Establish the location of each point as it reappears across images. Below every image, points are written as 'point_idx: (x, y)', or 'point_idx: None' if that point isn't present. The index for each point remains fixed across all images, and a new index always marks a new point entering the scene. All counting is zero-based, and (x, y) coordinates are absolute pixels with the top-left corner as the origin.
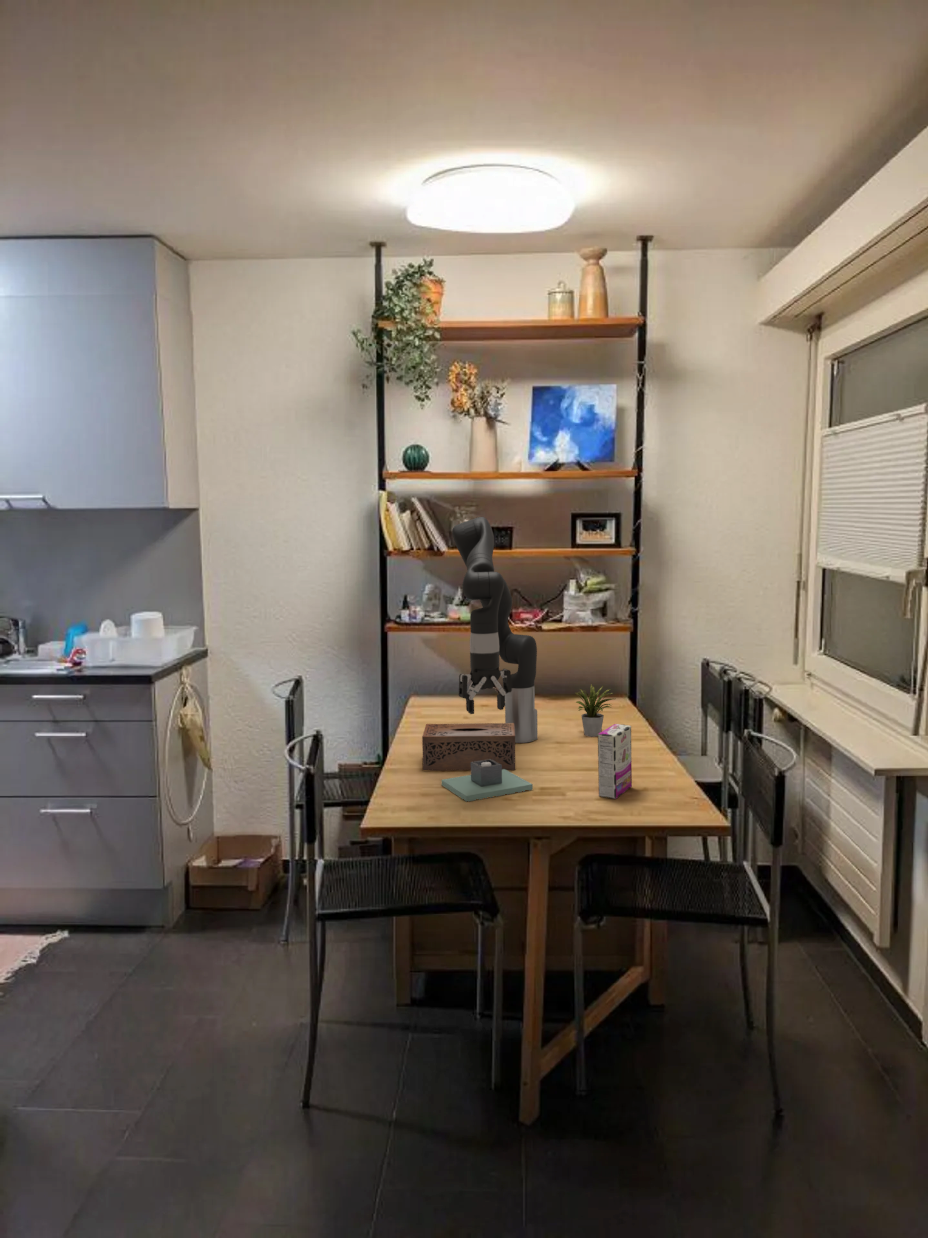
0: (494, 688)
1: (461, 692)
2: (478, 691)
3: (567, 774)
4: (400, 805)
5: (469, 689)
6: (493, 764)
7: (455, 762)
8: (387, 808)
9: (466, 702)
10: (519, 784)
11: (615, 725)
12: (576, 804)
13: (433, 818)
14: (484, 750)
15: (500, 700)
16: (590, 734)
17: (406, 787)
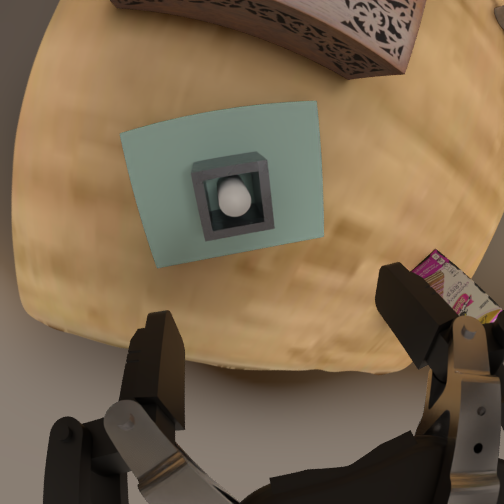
0: (448, 387)
1: (73, 461)
2: (230, 494)
3: (418, 166)
4: (40, 244)
5: (149, 487)
6: (260, 193)
7: (198, 12)
8: (24, 253)
9: (125, 389)
10: (298, 229)
11: (494, 321)
12: (341, 314)
13: (96, 316)
14: (293, 29)
15: (405, 341)
16: (501, 22)
17: (49, 132)
